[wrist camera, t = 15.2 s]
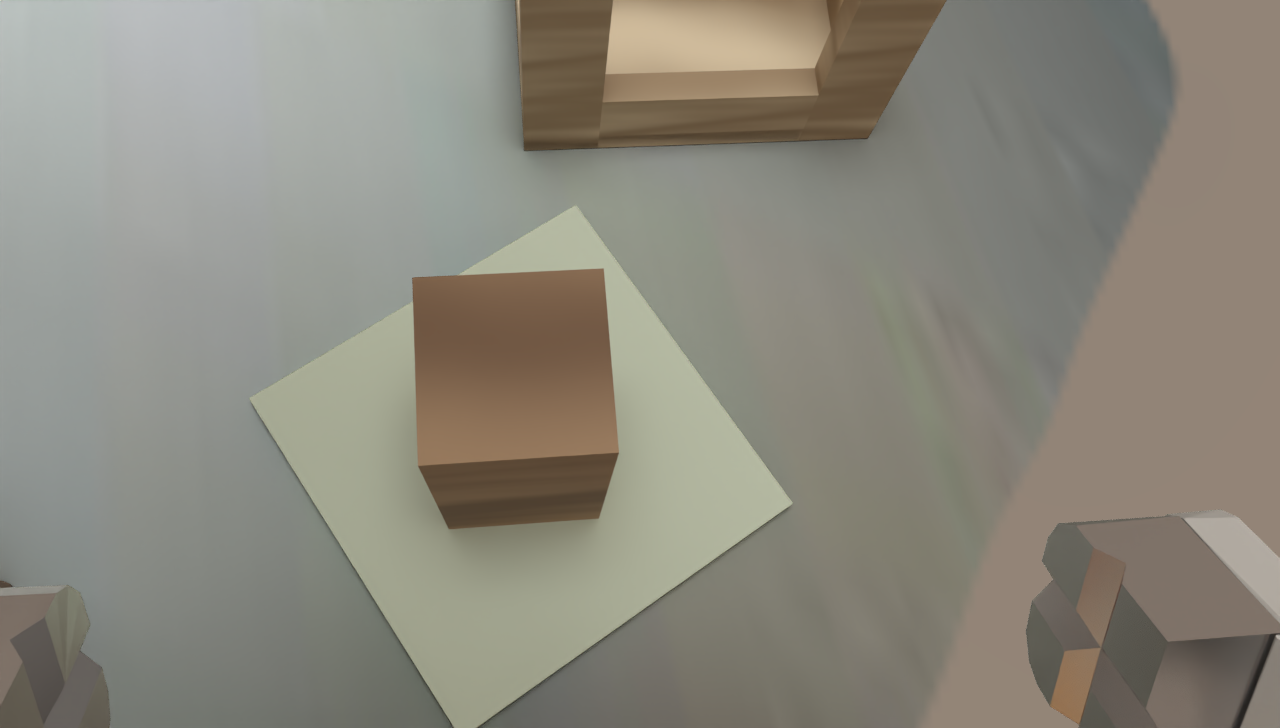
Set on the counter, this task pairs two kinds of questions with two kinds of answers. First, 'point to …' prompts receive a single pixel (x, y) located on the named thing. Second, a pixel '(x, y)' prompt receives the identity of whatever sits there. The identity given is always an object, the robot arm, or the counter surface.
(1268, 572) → the robot arm
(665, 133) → the tan piece
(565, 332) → the block
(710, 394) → the pad
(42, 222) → the counter surface
